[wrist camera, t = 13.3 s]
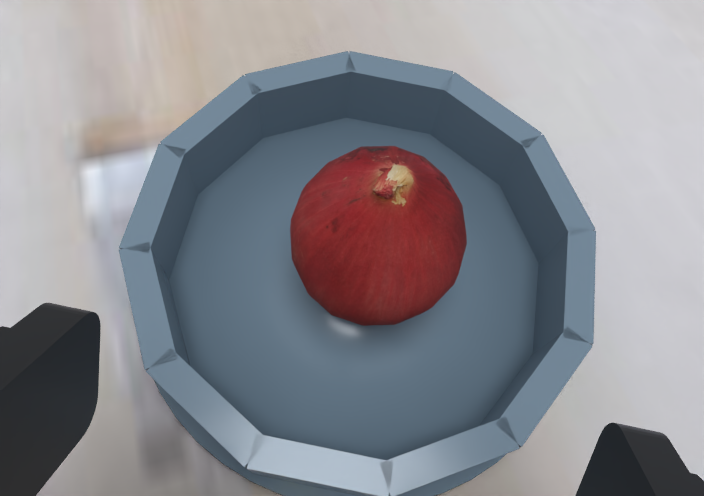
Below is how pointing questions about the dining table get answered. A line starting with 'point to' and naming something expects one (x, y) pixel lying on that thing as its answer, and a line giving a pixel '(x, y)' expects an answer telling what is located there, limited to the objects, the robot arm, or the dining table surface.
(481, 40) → the dining table surface
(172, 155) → the bowl
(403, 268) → the onion
